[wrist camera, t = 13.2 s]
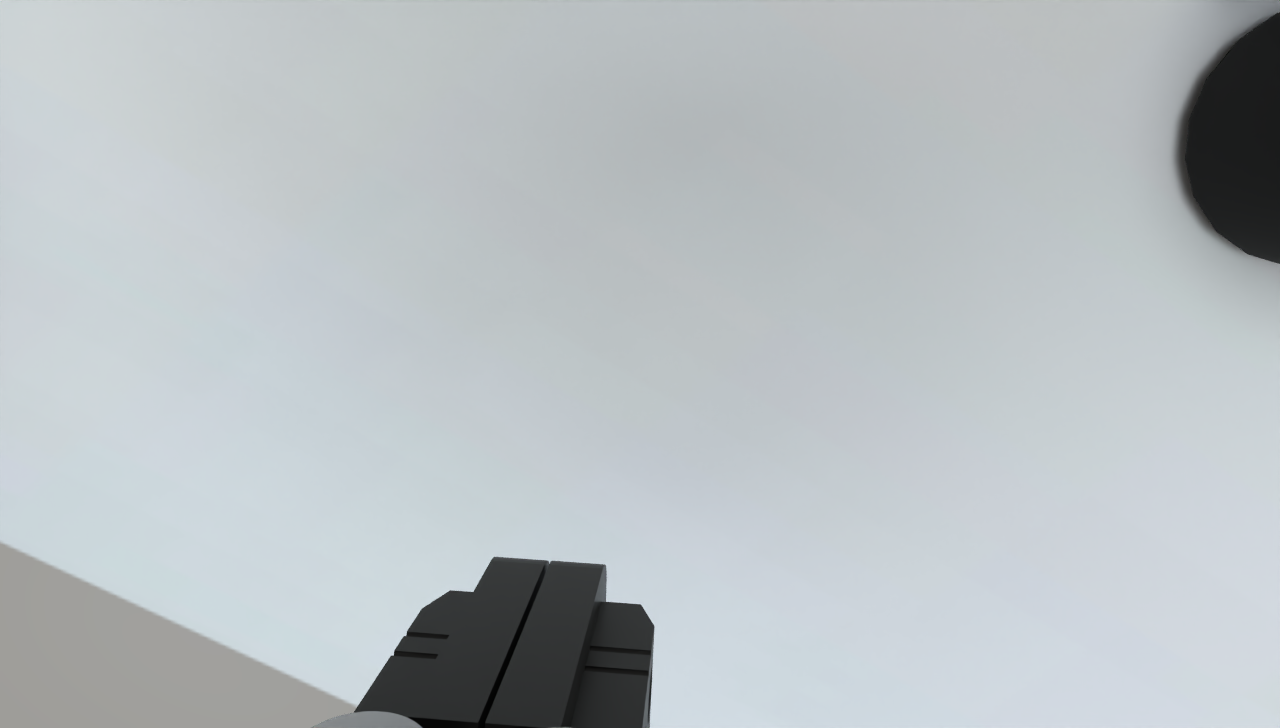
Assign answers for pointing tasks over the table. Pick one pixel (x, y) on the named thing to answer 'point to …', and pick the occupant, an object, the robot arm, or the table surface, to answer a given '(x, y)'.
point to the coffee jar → (1241, 144)
